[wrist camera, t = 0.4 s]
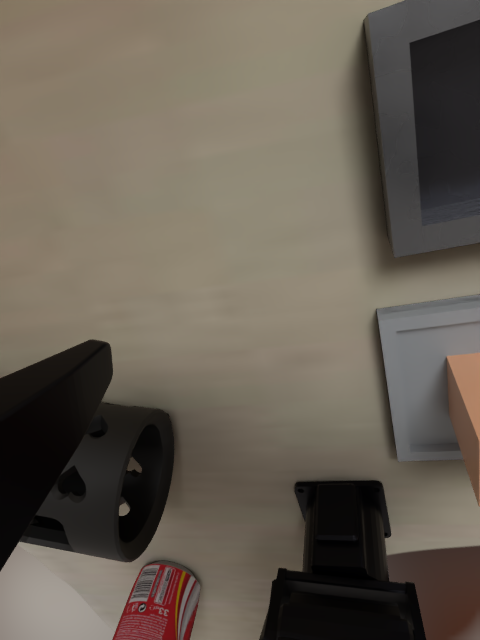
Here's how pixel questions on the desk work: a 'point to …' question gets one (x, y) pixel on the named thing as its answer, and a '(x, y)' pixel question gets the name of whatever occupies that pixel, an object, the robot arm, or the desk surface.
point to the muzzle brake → (110, 487)
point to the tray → (425, 371)
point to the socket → (427, 121)
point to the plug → (466, 410)
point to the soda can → (160, 604)
